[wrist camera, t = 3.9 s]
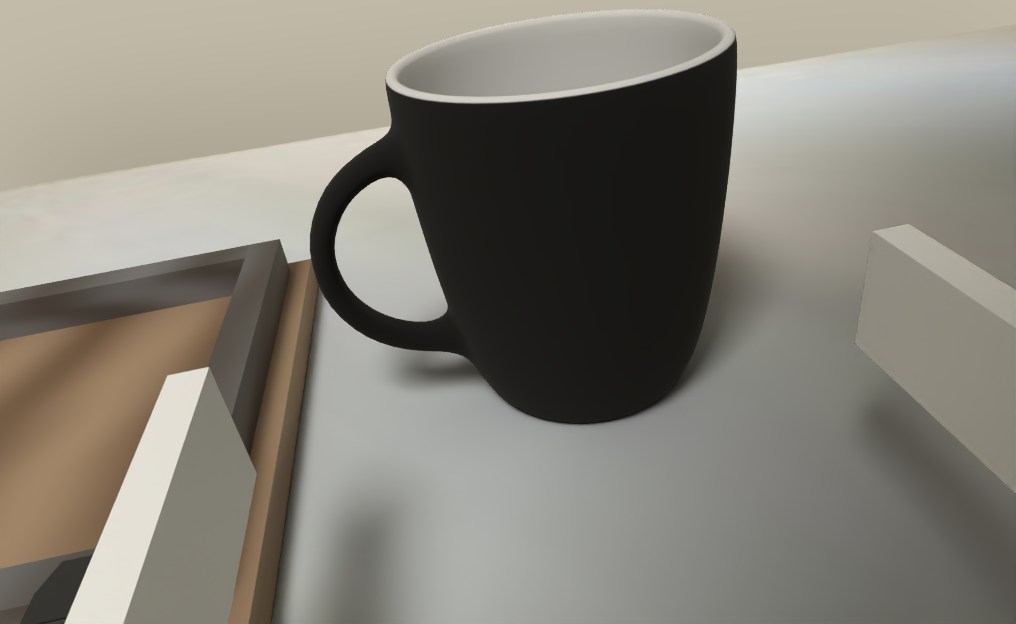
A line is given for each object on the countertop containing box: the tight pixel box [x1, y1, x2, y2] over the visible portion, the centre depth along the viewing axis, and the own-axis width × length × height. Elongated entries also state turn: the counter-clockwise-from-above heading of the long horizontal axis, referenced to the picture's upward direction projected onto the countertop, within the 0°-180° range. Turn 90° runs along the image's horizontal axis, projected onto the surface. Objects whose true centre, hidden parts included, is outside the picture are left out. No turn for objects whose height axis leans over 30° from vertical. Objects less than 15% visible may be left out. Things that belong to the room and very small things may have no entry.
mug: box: [310, 9, 737, 423], centre depth 21 cm, size 12×9×10 cm
